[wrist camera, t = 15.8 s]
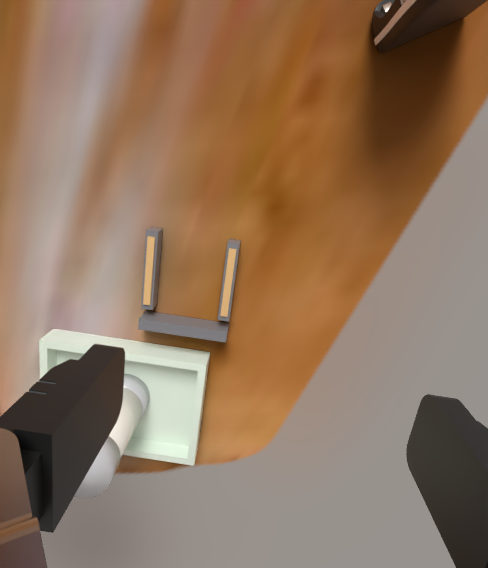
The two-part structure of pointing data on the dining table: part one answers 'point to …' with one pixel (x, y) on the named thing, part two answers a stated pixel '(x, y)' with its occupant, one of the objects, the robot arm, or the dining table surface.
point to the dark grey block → (415, 19)
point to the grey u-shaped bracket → (181, 323)
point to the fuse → (116, 438)
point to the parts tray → (162, 387)
